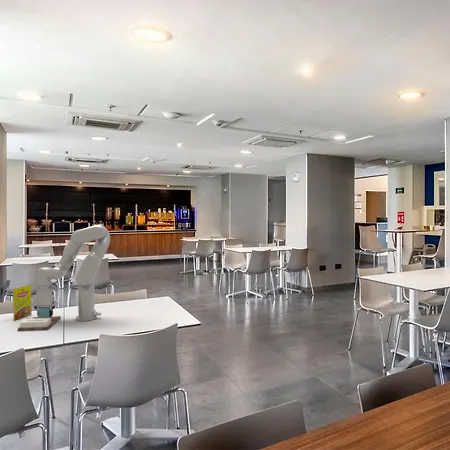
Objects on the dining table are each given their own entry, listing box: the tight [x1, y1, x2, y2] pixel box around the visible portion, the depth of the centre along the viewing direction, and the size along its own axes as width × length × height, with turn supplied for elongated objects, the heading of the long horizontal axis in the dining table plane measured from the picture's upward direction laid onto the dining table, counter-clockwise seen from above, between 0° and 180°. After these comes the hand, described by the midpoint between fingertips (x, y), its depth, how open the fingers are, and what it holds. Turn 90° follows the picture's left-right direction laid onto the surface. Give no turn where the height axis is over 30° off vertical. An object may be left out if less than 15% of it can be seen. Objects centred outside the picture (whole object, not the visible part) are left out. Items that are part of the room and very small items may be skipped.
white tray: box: [19, 317, 51, 328], centre depth 215 cm, size 14×8×3 cm, turn 98°
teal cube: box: [37, 306, 53, 318], centre depth 229 cm, size 6×6×6 cm
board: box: [17, 315, 62, 332], centre depth 222 cm, size 16×24×2 cm, turn 8°
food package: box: [12, 284, 32, 322], centre depth 235 cm, size 15×1×20 cm, turn 168°
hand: (45, 316), depth 229 cm, fingers closed on teal cube, 6 cm apart
